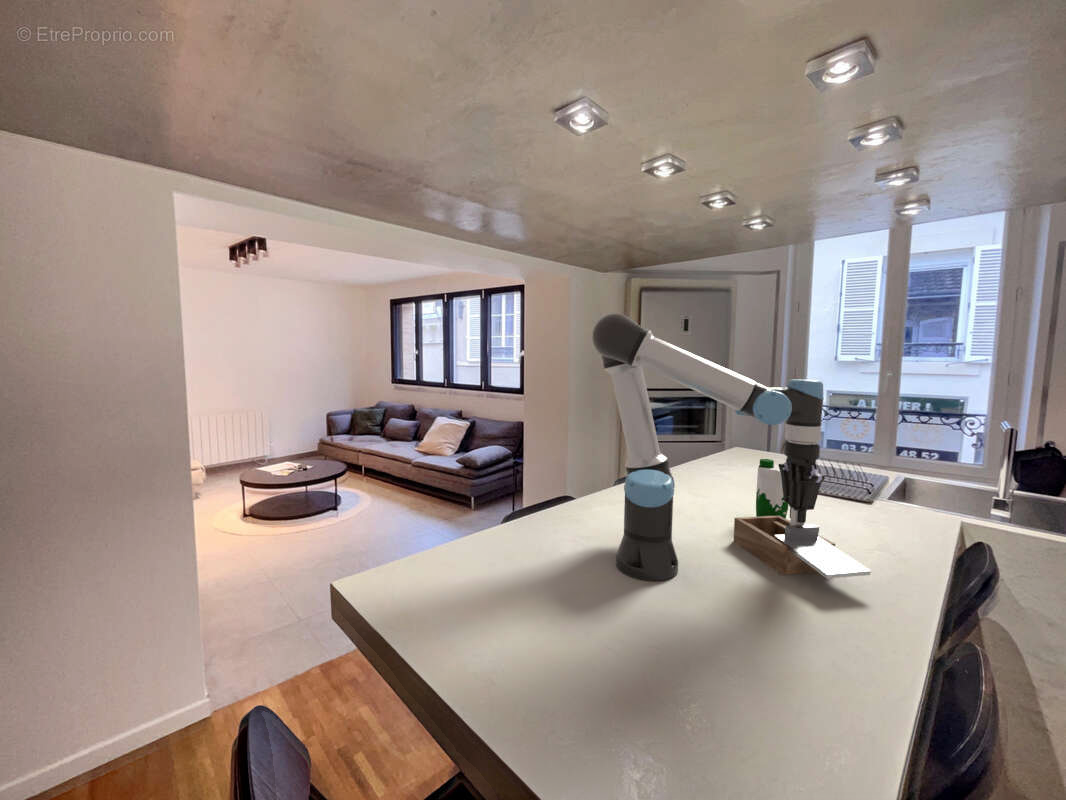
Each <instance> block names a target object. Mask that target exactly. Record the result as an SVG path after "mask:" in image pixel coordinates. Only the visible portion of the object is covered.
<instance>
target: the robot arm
mask: <svg viewBox="0 0 1066 800" xmlns="http://www.w3.org/2000/svg"><path fill="white" fill-rule="evenodd" d="M591 337H592V343H593V346H594V348H595V350H596V351H597V353H599V355H601V360H602V364H603V369H604V371H605V372H607V373H609V374H610V375H611V379H612V380H611V381H612V384H613V389H614V394H615V399H616V403H617V408H618V412H619V413H618V414H619V416H620V417H619V418H620V421H621V426H622V430H623V436H624V440H625V445H626V450H627V453H628V459H627V461H626V463H625V464H624V465H625V470H626V471H625V472H626V474H627V476H626V477H625V481H624V487H623V491H624V509H623V512H624V513H623V515H624V516H623V535H622V538H621V540H620V544H619V546H618V549H617V552H616V554H615V565H616V567H617V569H618V570H619V571H620V572H622V573H623V574H624V575H626V576H629V577H631V578H634V579H638V580H643V581H651V582H654V581H655V582H659V581H660V582H661V581H667V580H670V579H672V578H674V577H675V576H677V575H678V573H679V559H678V556H677V553H676V549H675V547H674V546H675V545H674V543H673V536H672V535H673V513H674V512H673V511H674V508H673V507H674V495H675V488H676V487H675V486H676V485H675V480H674V476H673V474H672V473H671V468H670V464H669V458H668V457H667V456H666V455H664V454H663V453H662V452H661V449H660V446H659V441H658V440H659V439H658V436H657V430H656V426H655V422H654V417H653V412H652V408H651V403H650V398H649V394H648V389H647V384H646V380H645V375H644V370H643V368H645V369H648V370H650V371H652V372H653V373H656V374H658V375H661V376H663V377H665V378H667V379H670V380H671V381H674V382H676V383H678V384H680V385H683V386H685V387H687V388H689V389H691V390H693V391H695V392H697V393H700V394H702V395H704V396H706V397H708V398H711V399H713V400H715V401H717V402H719V403H721V404H724V405H726V406H728V407H730V408H732V409H734V412H735V414H736V415H738V416H745V417H751V418H754V419H756V420H757V421H758V422H760V423H762V424H764V425H768V426H777V425H780V424H783V423H784V422H785V430H784V431H785V432H784V439H786V440H785V442H784V449H783V450H784V451H783V454H784V456H786V459H785V462H784V463H783V462H782V463H778V466H779V469H780V472H781V479H782V488H783V497H784V501H785V502H787V503H789V504H788V507H789V519H790V520H789V521H790V525H805V523H806V522H807V520H806V519H807V511H812V510H814V509H815V505H816V503H817V499H818V495H819V492H820V489H821V484H822V483H823V482H824V480H825V479H826V476H825V475H824V474H820V473H819V472H818V471H817V470H818V466H817V464H816V461H817V460H818V459H819V458H820V453H821V449H820V448H821V445H820V443H819V442H820V441H821V436H822V435H821V433H822V419H823V418H822V417H823V406H824V405H823V404H824V400H825V399H824V384H823V382H822V381H821V380H819V379H809V378H808V379H803V378H802V379H796V378H794V379H789V380H788V383H787V385H786V386H781V387H778V386H766V385H765V384H762V383H760V382H756V381H755V380H753V379H751V378H749V377H746V376H744V375H741V374H739V373H737V372H735V371H732V370H731V369H728V368H725V367H723V366H721V365H720V364H716V363H714V362H713V361H710V360H708V359H705V358H703V357H701V356H699V355H696V354H694V353H692V352H691V351H690V352H689V351H687V350H685V349H682V348H680V347H679V346H676V345H674V344H671V343H669V342H667V341H665V340H662V339H660V338H658V337H656V336H654V335H653V333H652V330H650V329H648V328H646V327H644V326H642V325H639V324H638V323H637V322H636V321H634V320H633V319H632V318H630V317H629V316H627V315H625V314H622V313H611V314H607V315H605V316H603V317H602V318H600V319H599V320H598V321H597V323H596V324H595V325H594V327H593V331H592V336H591ZM788 496H789V497H788Z"/></svg>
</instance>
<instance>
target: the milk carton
mask: <svg viewBox="0 0 1066 800" xmlns="http://www.w3.org/2000/svg"><path fill="white" fill-rule="evenodd" d="M774 463H775V461H774V460H773V459H769V458H760V459H759V465H758V467H757V475H756V476H757V477H756V492H755V493H756V496H755V497H756V498H755V514H756V515H755V517H761V516H781V517H783V518H785V519H787V516H788V511H789V503H787V502H785V501H784V497H783V488H782V479H781V472H780V469H779V466H778V465H779V464H778V465H777V464H774ZM788 497H789V496H788Z"/></svg>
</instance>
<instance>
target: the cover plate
mask: <svg viewBox="0 0 1066 800" xmlns="http://www.w3.org/2000/svg"><path fill="white" fill-rule="evenodd" d="M819 532H820V526H819V525H817V524H815V523H813V524H812V523H809V524H804V525H790V526H786V529H785V534H784V535H774V539H776V540H777V541H779V542H781V543H783V544H784V545H786V546H788V550H790V551H791V552H792V553H794V554H795V555H796V556H798V557H799V558H800V559H802V560H803V561H804V562H806V563H807V564H808V565H809V566H811V567H812V568H813V569H815V570H816V571H817V572H816V573H819V574H820V575H821V576H823V578H826V580H827V579H837V578H849V577H860V576H861V577H862V576H870V575H871V574H872V573H871V570H870V569H869V568H867V567H866V566H864V565H862V564H861V563H860V562H858V561H857V560H856V559H854V558H852V557H851V556H849V555H847V554H846V553H844V552H843V551H841V550H839V549H838V548H836V546H835V547H834V546H832V545H831V544H829V543H827V542H826V541H824V540H823V539H821V538H820V537H818V535H819Z"/></svg>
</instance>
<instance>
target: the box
mask: <svg viewBox="0 0 1066 800" xmlns="http://www.w3.org/2000/svg"><path fill="white" fill-rule="evenodd" d="M733 521H734V522H733V523H734V525H733V543H735V544H736V545H738V546H739V547H740V548H743V549H744V550H745V551H747V552H749V553H750V554H751V555H753V556H754V557H755V558H757V559H758V560H760V561H761V562H763V564H766V565H767V566H768V567H769V568H771V569H772V570H774V571H775V572H777V573H779V574H780V575H781V576H785V575H798V574H799V575H800V574H812V573H813V574H814V573H818V572H817V571H816V570H815V569H813V568H812V567H811V566H809V565H808V564H807V563H806V562H804V561H803V560H802V559H800V558H799V557H798V556H796V555H795V554H794V553H792V552H791V551H790V550H788V546H786V545H784V544H783V543H781V542H779V541H777V540H776V539H774V535H784V534H785V529H786V526H790V520H789V519H787V518H786V519H785V518H783V517H781V516H761V517H756V516H745V517H744V516H743V517H734V520H733ZM818 537H820V538H821V539H823V540H824V541H826V542H827V543H829V544H831V545H832V546H834V547H835V548H836V543H834V542H832V541H830V540H828V539H827V538H824V537H823V536H820V535H819V534H818Z"/></svg>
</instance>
